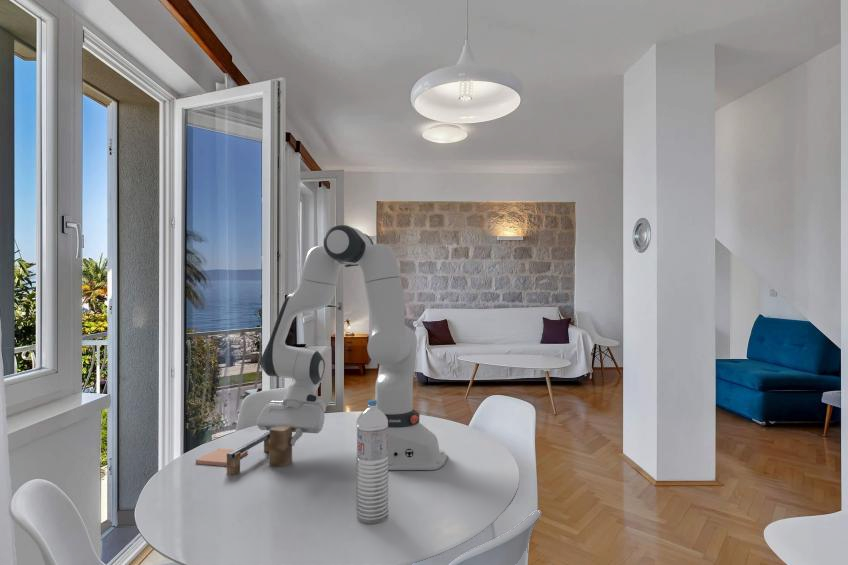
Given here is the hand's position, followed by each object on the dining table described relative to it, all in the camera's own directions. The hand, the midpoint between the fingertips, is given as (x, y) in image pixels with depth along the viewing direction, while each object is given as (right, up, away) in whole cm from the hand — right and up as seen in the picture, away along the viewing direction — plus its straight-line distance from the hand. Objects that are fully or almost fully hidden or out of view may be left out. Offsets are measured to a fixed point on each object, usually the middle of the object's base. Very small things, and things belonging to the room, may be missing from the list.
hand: (281, 444), depth 128 cm
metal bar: (-9, -1, +2) cm, 9 cm away
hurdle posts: (-9, -5, +2) cm, 10 cm away
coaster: (-19, -6, +4) cm, 20 cm away
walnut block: (0, -5, 0) cm, 5 cm away
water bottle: (+30, -4, -32) cm, 44 cm away
